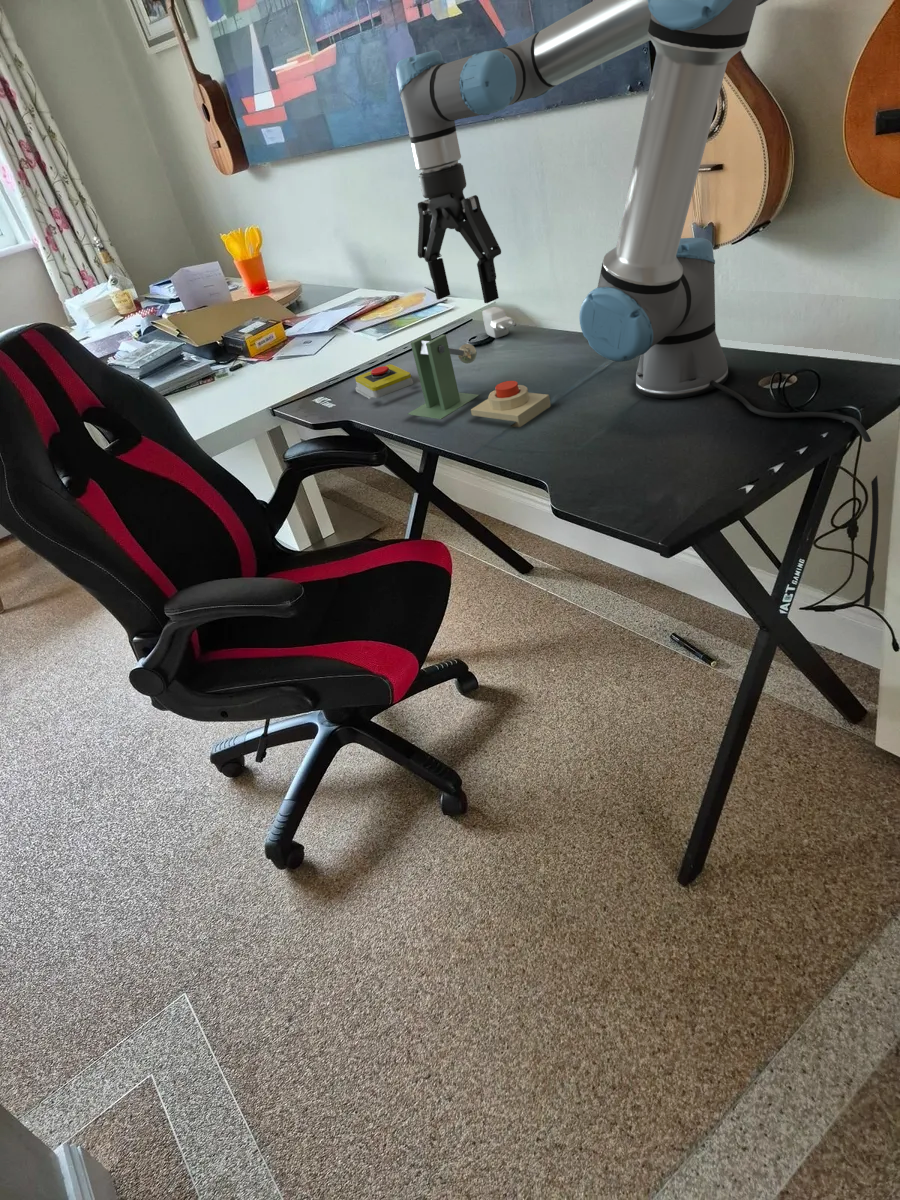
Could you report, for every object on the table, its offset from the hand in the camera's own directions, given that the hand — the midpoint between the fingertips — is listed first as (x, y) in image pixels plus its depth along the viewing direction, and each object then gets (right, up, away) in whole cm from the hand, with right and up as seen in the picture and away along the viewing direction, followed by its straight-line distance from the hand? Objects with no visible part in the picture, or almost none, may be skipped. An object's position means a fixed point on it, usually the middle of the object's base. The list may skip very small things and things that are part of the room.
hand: (466, 299), depth 139 cm
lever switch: (-3, -9, +7) cm, 12 cm away
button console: (+8, -20, +1) cm, 22 cm away
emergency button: (-16, -9, +26) cm, 32 cm away
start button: (+7, -17, -1) cm, 19 cm away
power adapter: (+9, +6, +39) cm, 41 cm away
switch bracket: (-4, -18, +9) cm, 20 cm away
